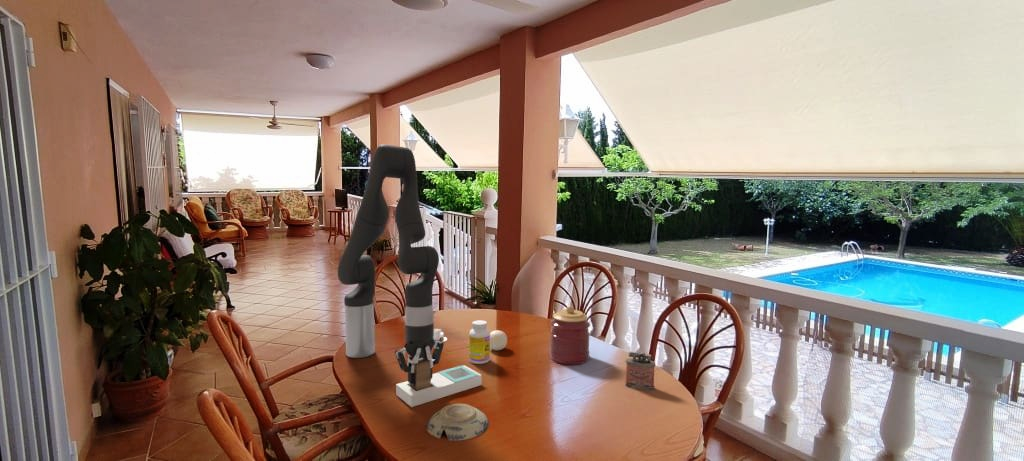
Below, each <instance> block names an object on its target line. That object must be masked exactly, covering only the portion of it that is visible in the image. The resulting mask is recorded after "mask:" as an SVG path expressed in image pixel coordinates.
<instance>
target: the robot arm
mask: <svg viewBox="0 0 1024 461" xmlns="http://www.w3.org/2000/svg"><path fill="white" fill-rule="evenodd" d="M367 176H368V177H367V181H366V186H365V190H364V193H363V196H362V200H361V202H360V205H359V207H358V210H357V213H356V216H355V220H354V224H353V226H352V230H351V233H350V236H349V239H348V242H347V244H346V246H345V248H344V250H343V253H342V256H341V257H340V260H339V263H338V265H337V266H338V267H337V278H338V281H339V282H340V283H341V284H343V285H347V286H352V285H353V286H354V285H357V286H356V287H355V288H354V289H353V290H352V291H350V292H348V293H347V294H345V296H344V300H343V301H344V302H343V303H344V327H345V328H344V330H345V332H344V333H345V356H347V357H348V358H353V359H360V358H366V357H369V356H372V355H374V354H375V350H376V349H375V314H374V313H375V312H374V308H375V307H374V297H375V293H376V292H375V291H376V289H375V288H376V265H375V262H374V259H373V257H371V255H369V254H364V253H365V252H366V251H367V250H368V249H369V248H371V247H372V246H373V245H374V243H376V242H377V241H378V240H379V238H381V237H382V235H383V234H384V232H385V229H386V227H387V223H388V221H389V218H390V209H389V206H388V204H387V203H388V202H387V201H386V199H385V195H384V192H383V184H384V181H385V179H386V178H389V179H401V181H402V184H403V186H402V187H403V189H402V193H401V194H400V197H399V200H398V202H397V204H396V208H395V211H394V217H395V218H394V219H395V223H396V227H397V232H398V240H399V241H398V242H399V245H398V246H399V247H398V255H397V256H398V257H397V265H398V269H399V270H400V271H401V272H402V273H403V275H404V274H405V275H415V274H421V275H420V276H419V277H420V278H418V279H417V280H415V281H410V282H409V283H407V284H406V285H405V291H404V292H405V309H404V310H405V311H404V332H405V334H404V338H405V344H404V345H403V348H400V349H396V350H395V351H394V355H395V358H396V360H397V363H398V366H399V369H400V370H401V371H403V372H405V373H407V381H408V382H409V383H410V384H411V385H412V386H415V385H416V379H415V365H416V364H417V363H418V359H420V358H425V359H427V360H428V361H429V360H430V375H431V379H432V377H433V375H432V374H433V367H434V366H435V365H438V364H439V363H440V360H441V357H442V356H441V355H442V353H443V348H444V345H445V344H444V342H441V341H440V340H438V341H435V340H434V339H433V337H434V329H435V327H434V326H435V325H434V324H435V322H434V321H435V320H434V318H435V316H434V314H435V312H434V306H433V287H434V282H435V278H436V274H437V272H438V267H439V264H440V263H439V262H440V258H439V253H438V251H437V249H436V248H435V247H434V246H431V245H427V246H426V245H424V246H411V245H413V244H415V243H419V242H420V241H422V240H424V239H425V236H426V230H425V224H424V221H423V216H422V214H421V209H420V208H421V207H420V201H419V193H418V191H419V190H418V189H419V188H418V177H417V166H416V160H415V155H414V153H413V151H412V150H411V149H410V148H408V147H405V146H404V147H403V146H398V145H392V144H380V145H378V146H377V147H376V148H375V150H374V152H373V155H372V160H371V163H370V168H369V173H368V175H367ZM432 350H433V351H432ZM431 351H432V353H431ZM406 353H407V354H408V358H407V361H406Z"/></svg>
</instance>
